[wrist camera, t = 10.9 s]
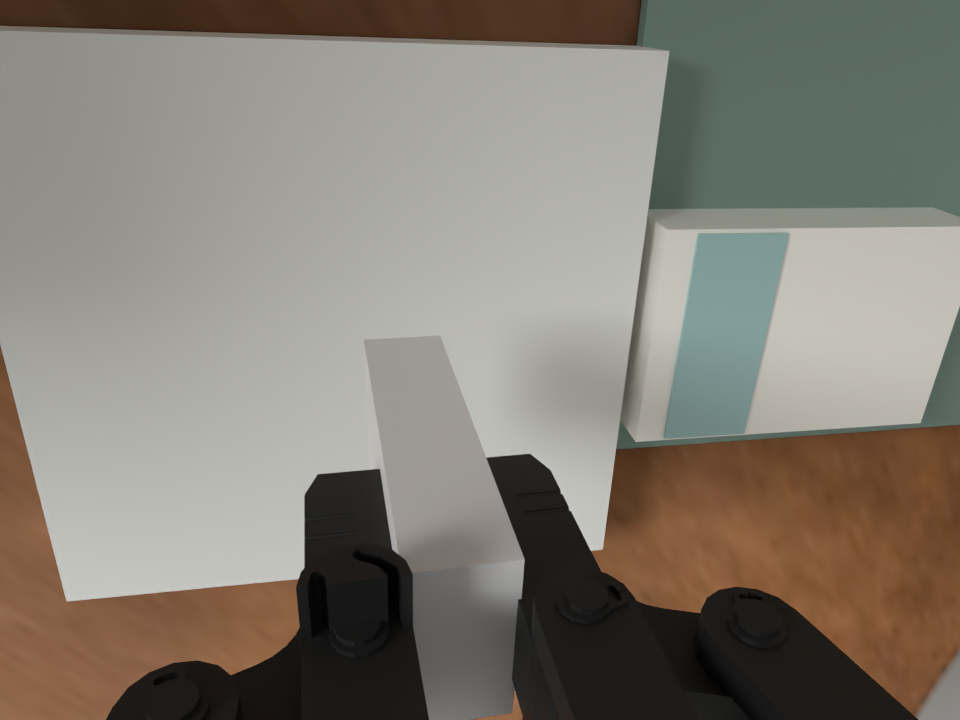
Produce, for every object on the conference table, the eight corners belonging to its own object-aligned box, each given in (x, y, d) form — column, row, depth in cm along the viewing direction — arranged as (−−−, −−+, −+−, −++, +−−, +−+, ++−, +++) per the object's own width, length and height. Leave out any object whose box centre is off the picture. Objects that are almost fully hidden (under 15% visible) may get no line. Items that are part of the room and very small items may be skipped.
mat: (649, -71, 18) (656, -72, 17) (1174, -39, 20) (1189, -39, 20) (590, 443, 24) (594, 451, 23) (1001, 415, 26) (1011, 421, 26)
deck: (-37, 24, 16) (-82, 28, 14) (636, 45, 19) (669, 50, 17) (87, 552, 22) (66, 601, 20) (582, 509, 25) (602, 549, 23)
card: (637, 209, 20) (669, 230, 18) (932, 207, 22) (989, 227, 20) (611, 407, 23) (637, 443, 21) (877, 392, 24) (923, 424, 22)
